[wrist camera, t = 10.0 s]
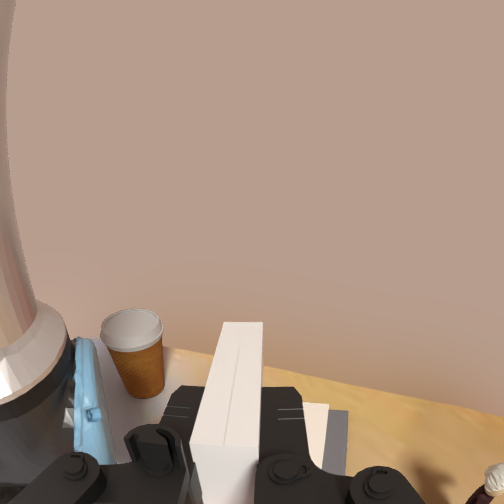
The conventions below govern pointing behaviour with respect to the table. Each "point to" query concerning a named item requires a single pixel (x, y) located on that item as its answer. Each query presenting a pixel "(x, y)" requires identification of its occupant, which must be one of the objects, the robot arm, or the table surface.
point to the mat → (334, 443)
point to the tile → (316, 429)
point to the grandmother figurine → (489, 486)
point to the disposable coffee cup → (136, 350)
